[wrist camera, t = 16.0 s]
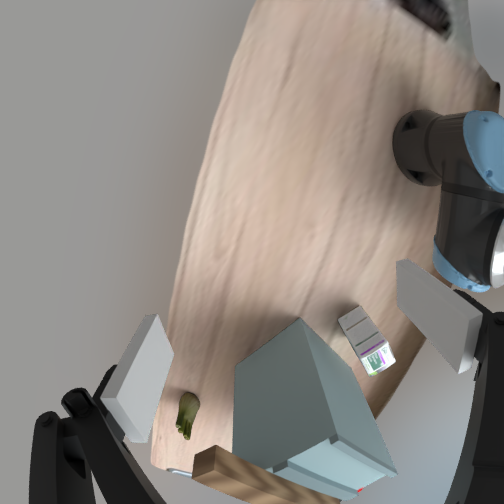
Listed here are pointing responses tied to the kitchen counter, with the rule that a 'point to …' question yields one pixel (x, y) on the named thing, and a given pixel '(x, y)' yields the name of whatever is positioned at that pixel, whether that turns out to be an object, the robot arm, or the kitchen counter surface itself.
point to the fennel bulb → (187, 414)
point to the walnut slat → (250, 480)
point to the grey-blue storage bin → (307, 416)
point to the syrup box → (367, 341)
